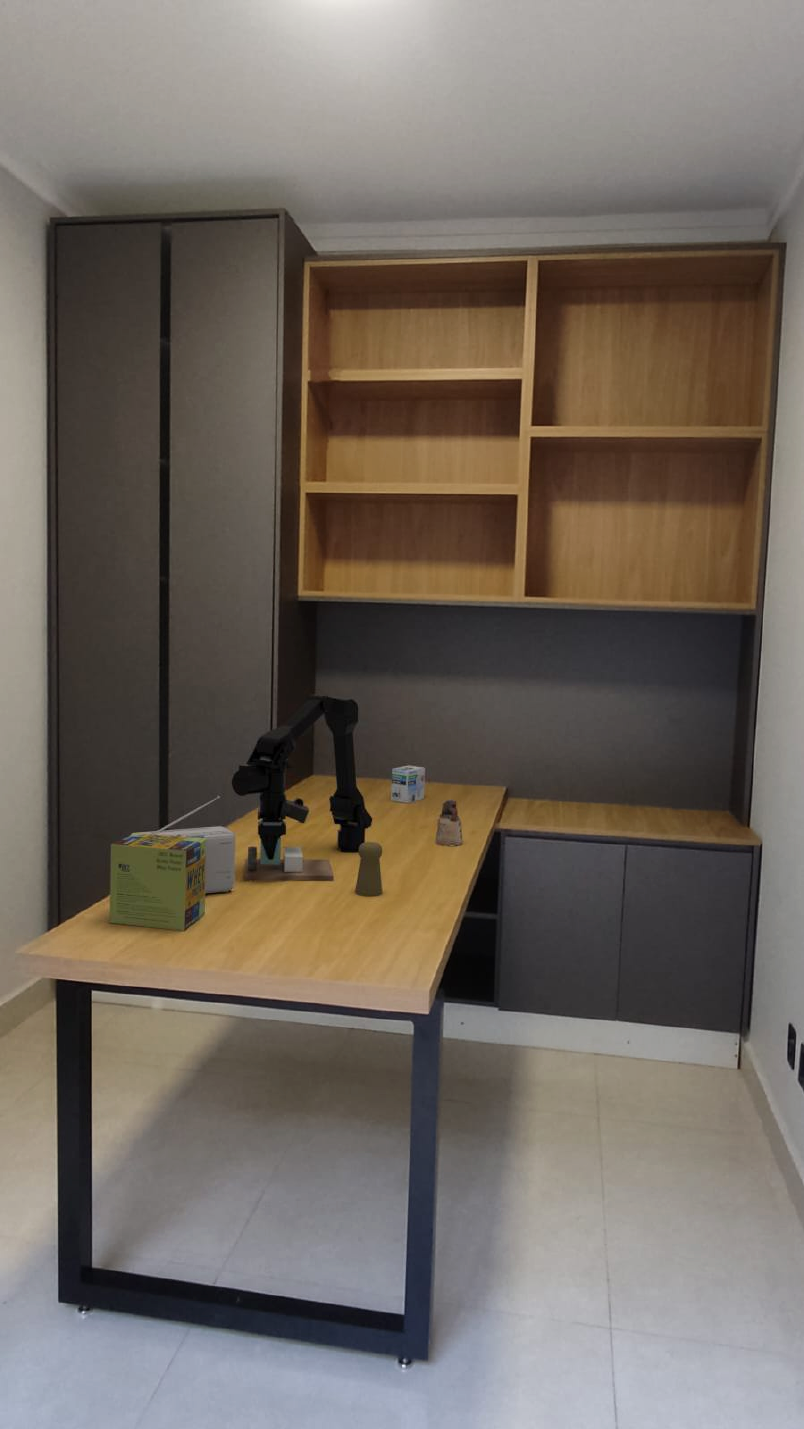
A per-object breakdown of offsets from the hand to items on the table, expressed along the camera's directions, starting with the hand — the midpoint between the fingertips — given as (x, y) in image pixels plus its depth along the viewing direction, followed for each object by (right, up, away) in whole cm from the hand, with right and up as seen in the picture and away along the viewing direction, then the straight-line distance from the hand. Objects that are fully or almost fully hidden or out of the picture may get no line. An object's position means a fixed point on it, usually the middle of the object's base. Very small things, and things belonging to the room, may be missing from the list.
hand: (270, 856), depth 219 cm
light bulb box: (+32, +4, +94) cm, 99 cm away
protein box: (-17, -7, -35) cm, 40 cm away
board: (+4, -4, +1) cm, 6 cm away
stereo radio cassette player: (-16, -5, -19) cm, 25 cm away
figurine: (+43, -2, +36) cm, 56 cm away
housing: (+5, -2, +1) cm, 6 cm away
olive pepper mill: (+23, -6, -12) cm, 27 cm away
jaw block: (0, -1, 0) cm, 1 cm away
